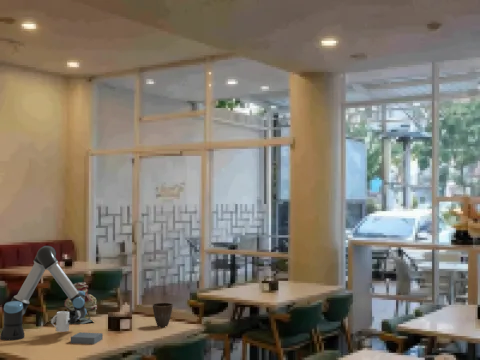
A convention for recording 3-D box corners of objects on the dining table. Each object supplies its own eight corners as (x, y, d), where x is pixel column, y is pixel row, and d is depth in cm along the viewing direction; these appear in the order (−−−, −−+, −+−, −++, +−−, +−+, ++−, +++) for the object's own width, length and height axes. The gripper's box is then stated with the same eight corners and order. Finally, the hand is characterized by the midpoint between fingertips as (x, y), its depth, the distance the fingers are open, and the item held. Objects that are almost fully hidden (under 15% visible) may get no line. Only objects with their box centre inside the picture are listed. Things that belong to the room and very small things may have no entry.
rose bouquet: (62, 325, 432) (63, 285, 433) (62, 318, 460) (63, 280, 461) (97, 324, 439) (98, 284, 440) (96, 317, 467) (97, 279, 468)
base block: (70, 343, 376) (70, 336, 376) (79, 338, 390) (79, 332, 390) (94, 344, 374) (94, 337, 374) (102, 339, 388) (102, 333, 388)
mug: (53, 332, 378) (54, 314, 378) (48, 330, 384) (49, 312, 385) (71, 330, 385) (71, 312, 386) (65, 328, 392) (66, 310, 392)
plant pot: (165, 329, 423) (165, 306, 424) (148, 327, 430) (148, 305, 431) (176, 325, 437) (176, 303, 438) (159, 323, 443) (159, 302, 444)
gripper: (87, 322, 401) (73, 328, 379) (58, 320, 404) (42, 326, 382) (88, 311, 402) (74, 316, 379) (58, 309, 405) (43, 315, 382)
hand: (58, 321), depth 381 cm, fingers closed on mug, 9 cm apart
